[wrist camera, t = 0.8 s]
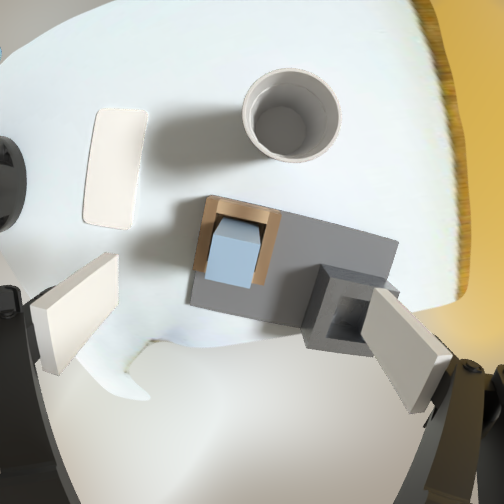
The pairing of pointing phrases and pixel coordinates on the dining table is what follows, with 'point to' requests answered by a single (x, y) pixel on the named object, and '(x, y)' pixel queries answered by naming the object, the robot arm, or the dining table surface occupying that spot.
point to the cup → (291, 115)
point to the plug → (233, 252)
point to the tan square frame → (245, 212)
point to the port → (340, 310)
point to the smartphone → (114, 167)
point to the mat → (297, 269)
